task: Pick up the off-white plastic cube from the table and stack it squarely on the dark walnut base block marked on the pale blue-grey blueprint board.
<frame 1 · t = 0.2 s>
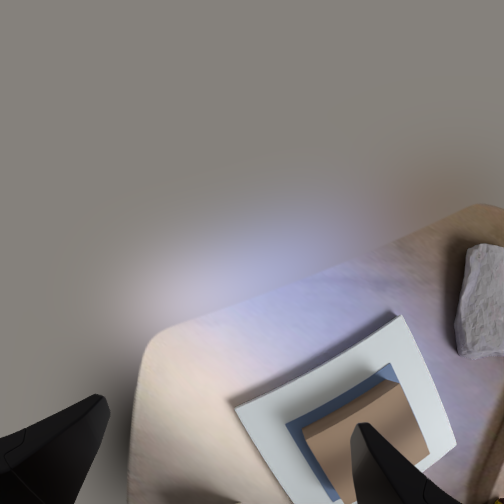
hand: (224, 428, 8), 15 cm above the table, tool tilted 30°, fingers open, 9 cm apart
stone block: (480, 304, 22), on the table
blueprint board: (359, 435, 20), on the table
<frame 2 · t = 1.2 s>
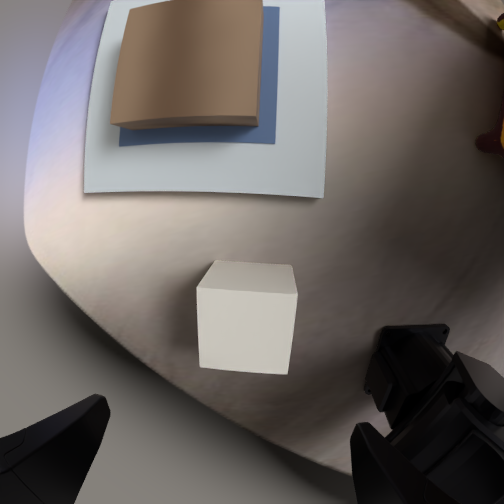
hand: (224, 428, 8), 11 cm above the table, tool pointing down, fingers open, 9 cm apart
plastic cube: (251, 297, 19), on the table
blueprint board: (200, 73, 16), on the table
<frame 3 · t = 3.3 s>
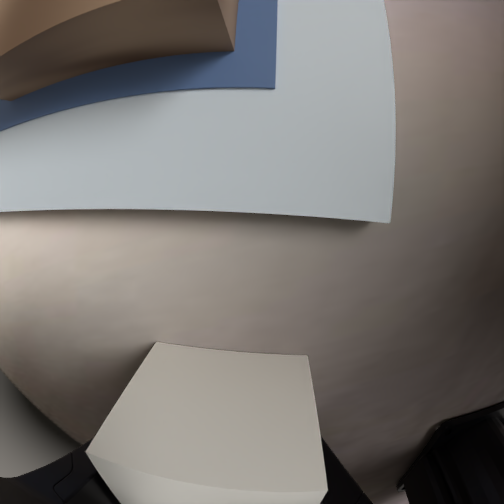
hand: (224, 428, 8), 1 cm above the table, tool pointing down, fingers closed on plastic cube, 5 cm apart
plastic cube: (229, 404, 9), on the table, touching gripper
when the fingers open (7 cm above the table, at t = 7.7 s): plastic cube drops 1 cm, resting on blueprint board.
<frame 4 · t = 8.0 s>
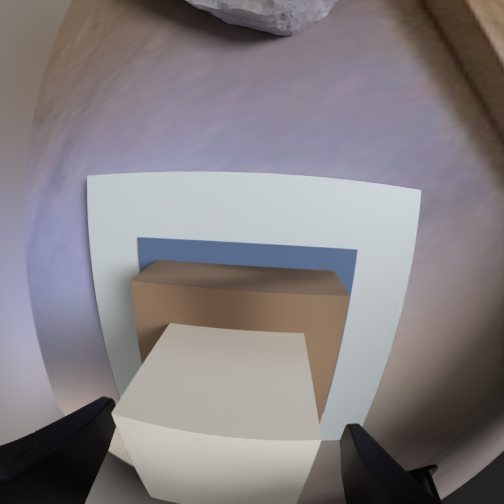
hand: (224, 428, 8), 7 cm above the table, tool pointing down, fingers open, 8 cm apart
plastic cube: (234, 380, 11), point 4 cm above the table, touching blueprint board
blueprint board: (242, 331, 15), on the table
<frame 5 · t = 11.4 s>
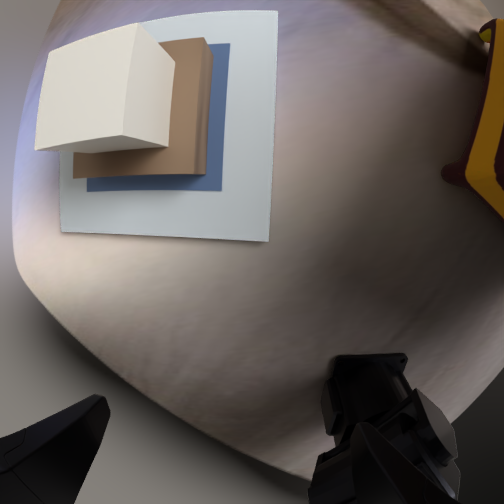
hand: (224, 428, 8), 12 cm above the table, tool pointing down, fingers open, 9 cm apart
plastic cube: (130, 107, 13), point 4 cm above the table, touching blueprint board
blueprint board: (156, 118, 17), on the table
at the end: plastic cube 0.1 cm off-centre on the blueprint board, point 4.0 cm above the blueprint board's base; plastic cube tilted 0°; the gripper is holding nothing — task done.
